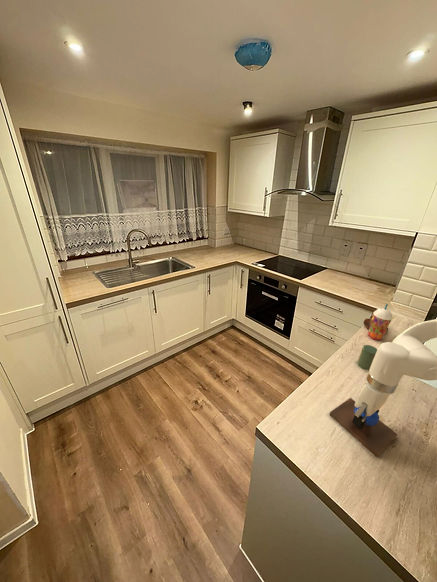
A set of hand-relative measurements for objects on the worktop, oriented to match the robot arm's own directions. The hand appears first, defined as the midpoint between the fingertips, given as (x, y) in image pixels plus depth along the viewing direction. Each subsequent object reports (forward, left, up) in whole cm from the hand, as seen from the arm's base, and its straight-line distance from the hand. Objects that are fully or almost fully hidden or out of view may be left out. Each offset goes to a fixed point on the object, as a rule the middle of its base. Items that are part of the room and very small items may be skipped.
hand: (364, 420), depth 78 cm
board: (0, 0, -3) cm, 3 cm away
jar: (+16, -30, -3) cm, 34 cm away
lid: (0, 0, +3) cm, 3 cm away
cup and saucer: (+30, -65, -3) cm, 72 cm away
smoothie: (+26, -56, -3) cm, 62 cm away
